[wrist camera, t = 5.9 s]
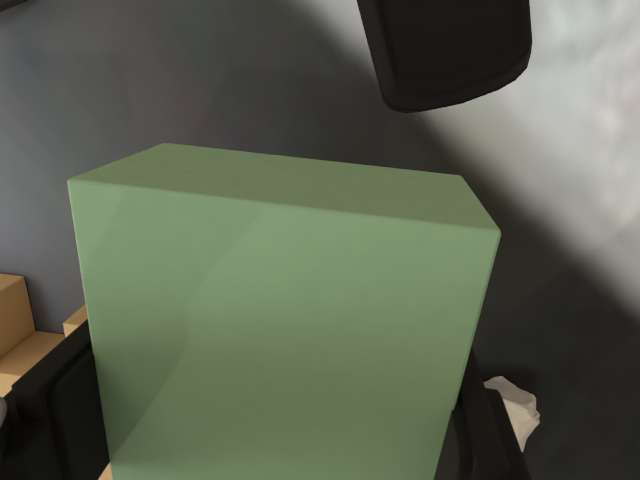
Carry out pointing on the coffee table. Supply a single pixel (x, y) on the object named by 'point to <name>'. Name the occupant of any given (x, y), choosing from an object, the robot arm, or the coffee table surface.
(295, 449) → the green pad
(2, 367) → the sand pad
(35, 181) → the coffee table surface
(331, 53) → the coffee table surface
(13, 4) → the clip-on lamp
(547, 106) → the coffee table surface
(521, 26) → the controller
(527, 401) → the coral
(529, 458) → the coffee table surface
